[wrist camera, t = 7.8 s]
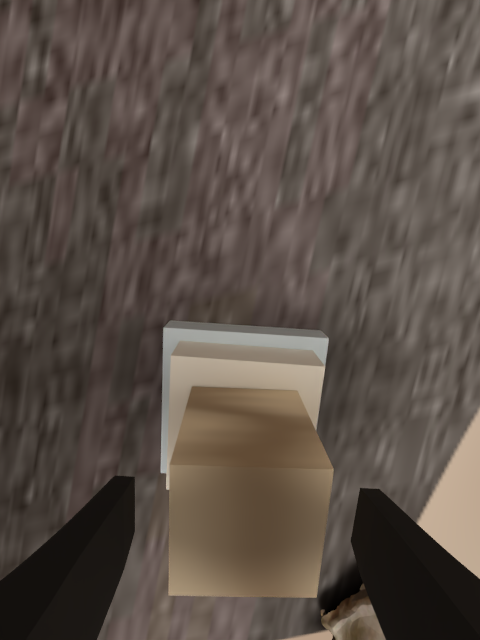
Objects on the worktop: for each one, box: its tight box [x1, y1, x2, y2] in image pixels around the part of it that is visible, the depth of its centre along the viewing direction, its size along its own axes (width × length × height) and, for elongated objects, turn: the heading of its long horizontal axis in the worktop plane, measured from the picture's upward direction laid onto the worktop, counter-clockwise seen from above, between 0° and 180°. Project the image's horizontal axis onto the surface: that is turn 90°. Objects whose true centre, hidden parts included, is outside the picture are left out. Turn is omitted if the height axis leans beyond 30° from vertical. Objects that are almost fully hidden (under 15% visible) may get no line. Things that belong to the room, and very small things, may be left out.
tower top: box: [166, 341, 325, 490], centre depth 15 cm, size 6×6×2 cm
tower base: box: [161, 320, 329, 473], centre depth 17 cm, size 8×8×2 cm
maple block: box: [169, 387, 334, 598], centre depth 12 cm, size 4×4×5 cm
